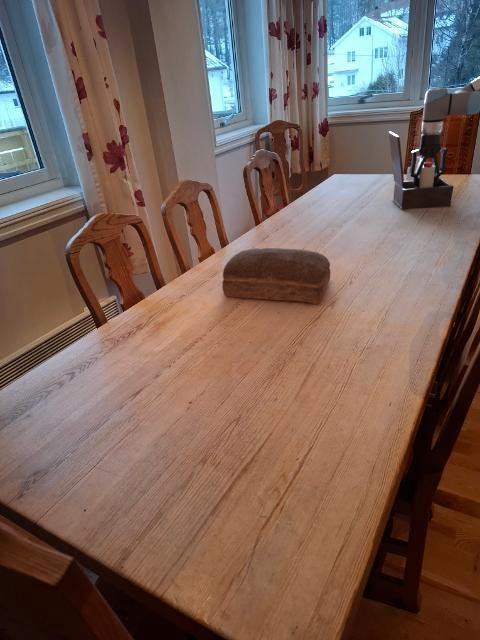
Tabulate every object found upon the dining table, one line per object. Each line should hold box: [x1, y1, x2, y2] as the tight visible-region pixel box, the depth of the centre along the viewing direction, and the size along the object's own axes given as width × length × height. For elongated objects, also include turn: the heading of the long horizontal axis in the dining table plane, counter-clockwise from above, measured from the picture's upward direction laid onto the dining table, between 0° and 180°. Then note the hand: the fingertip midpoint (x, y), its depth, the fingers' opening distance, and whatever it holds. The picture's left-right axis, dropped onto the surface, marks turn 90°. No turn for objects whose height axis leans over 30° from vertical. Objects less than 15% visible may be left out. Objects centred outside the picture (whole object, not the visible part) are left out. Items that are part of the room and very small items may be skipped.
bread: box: [222, 247, 331, 304], centre depth 123 cm, size 17×29×11 cm, turn 70°
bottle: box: [419, 161, 436, 188], centre depth 176 cm, size 6×6×14 cm
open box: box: [392, 177, 454, 211], centre depth 181 cm, size 20×14×8 cm
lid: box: [388, 131, 405, 189], centre depth 175 cm, size 20×14×1 cm
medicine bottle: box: [405, 155, 424, 181], centre depth 212 cm, size 7×7×12 cm
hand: (424, 192), depth 179 cm, fingers closed on bottle, 6 cm apart
